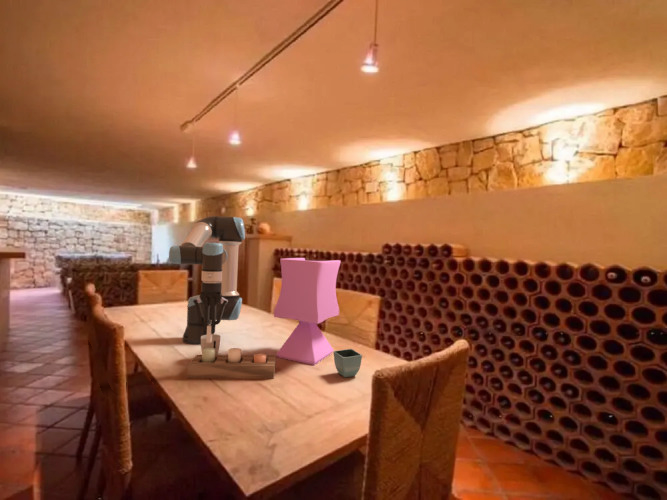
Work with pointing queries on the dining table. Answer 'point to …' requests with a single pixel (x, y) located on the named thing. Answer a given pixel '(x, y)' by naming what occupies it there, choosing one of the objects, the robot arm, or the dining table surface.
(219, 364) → the brown wooden long block
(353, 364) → the flower pot
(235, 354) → the peach rounded knob
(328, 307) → the pink table lamp
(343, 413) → the dining table surface
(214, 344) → the cup
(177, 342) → the dining table surface
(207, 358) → the button sage
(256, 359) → the button terracotta
